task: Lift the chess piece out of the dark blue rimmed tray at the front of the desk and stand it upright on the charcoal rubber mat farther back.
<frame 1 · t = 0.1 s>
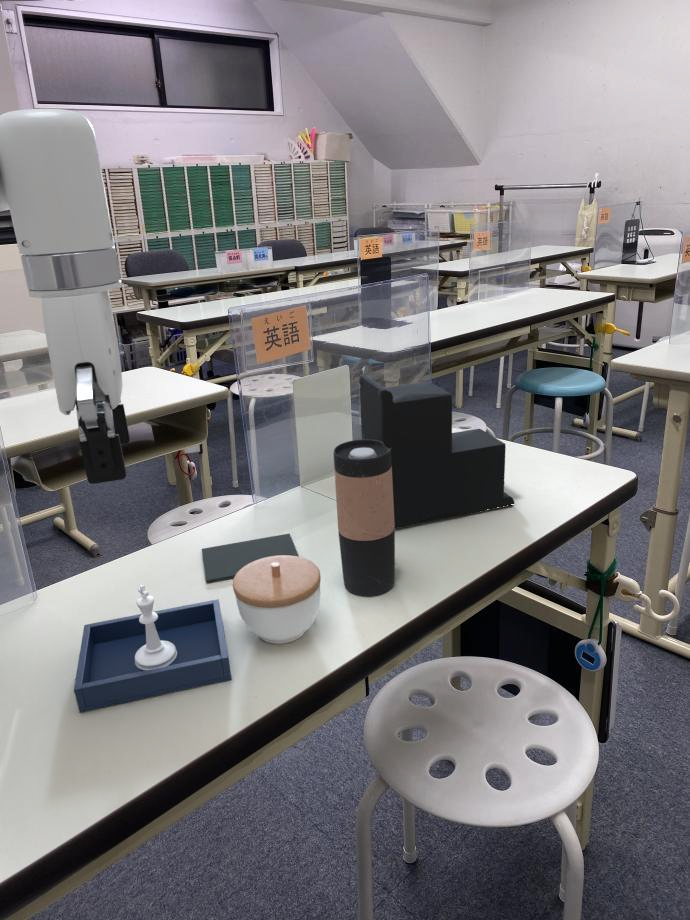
hand: (111, 461, 64), 29 cm above the table, tool pointing down, fingers open, 9 cm apart
mat: (250, 558, 104), on the table
travel mug: (369, 584, 96), on the table
chess piece: (156, 658, 82), resting on tray
trinket box: (282, 630, 87), on the table
tray: (157, 661, 82), on the table
bookend: (438, 508, 117), on the table
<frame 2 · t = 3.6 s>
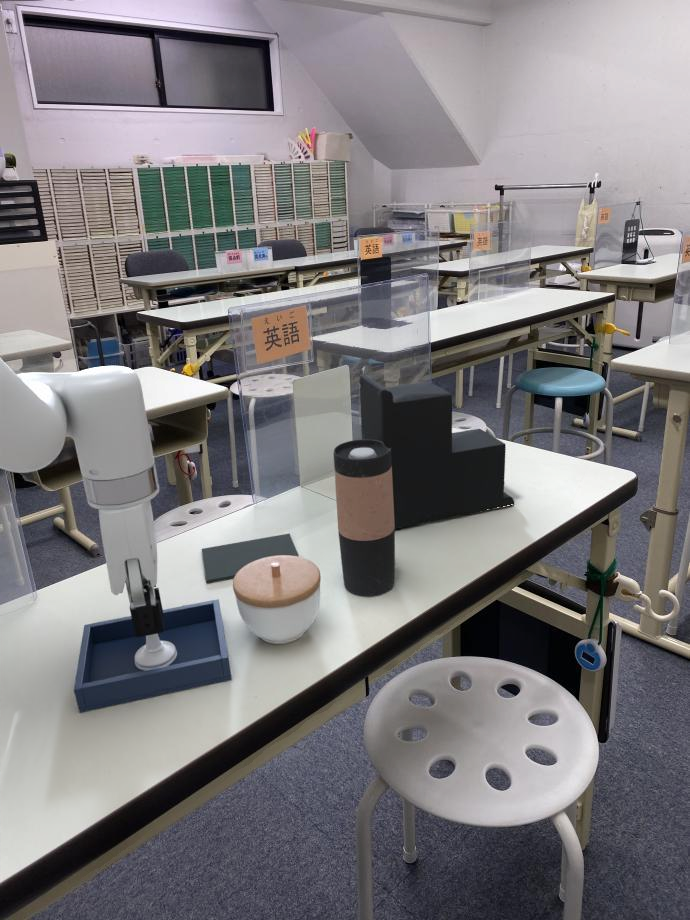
hand: (149, 625, 80), 5 cm above the table, tool pointing down, fingers closed on chess piece
chess piece: (156, 659, 82), resting on tray, touching gripper
everything else where it was.
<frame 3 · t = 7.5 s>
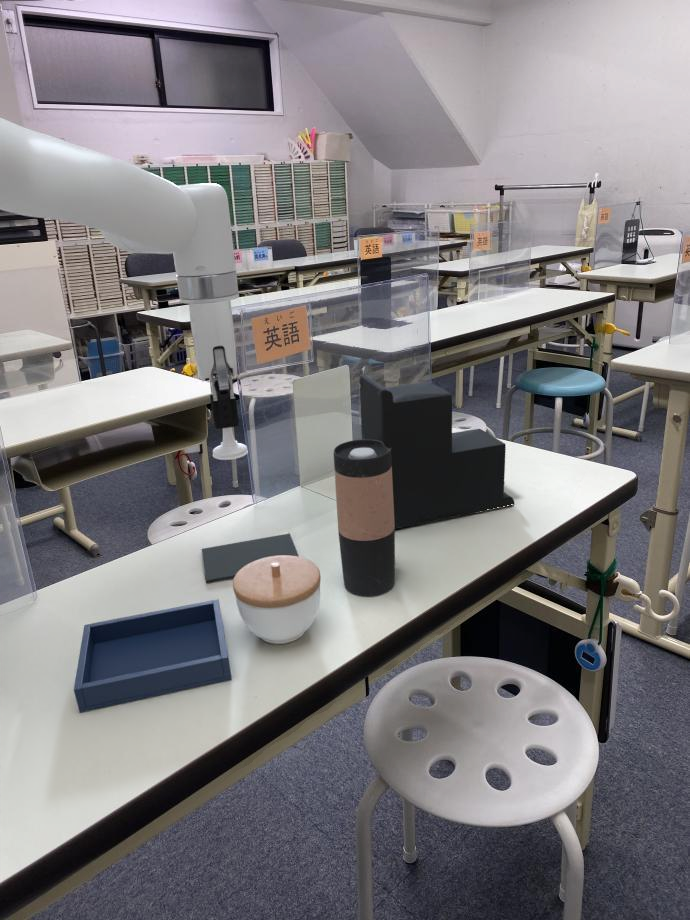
hand: (226, 423, 94), 22 cm above the table, tool pointing down, fingers closed on chess piece
chess piece: (230, 455, 96), point 18 cm above the table, touching gripper
everything else where it was.
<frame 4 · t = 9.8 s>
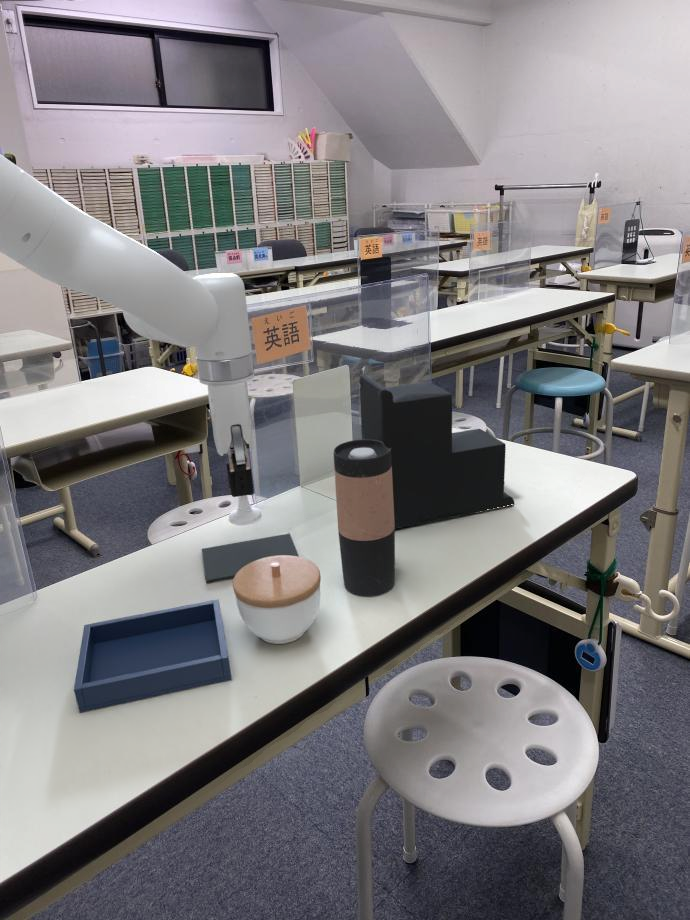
hand: (241, 490, 100), 11 cm above the table, tool pointing down, fingers closed on chess piece
chess piece: (245, 519, 101), point 7 cm above the table, touching gripper
everything else where it was.
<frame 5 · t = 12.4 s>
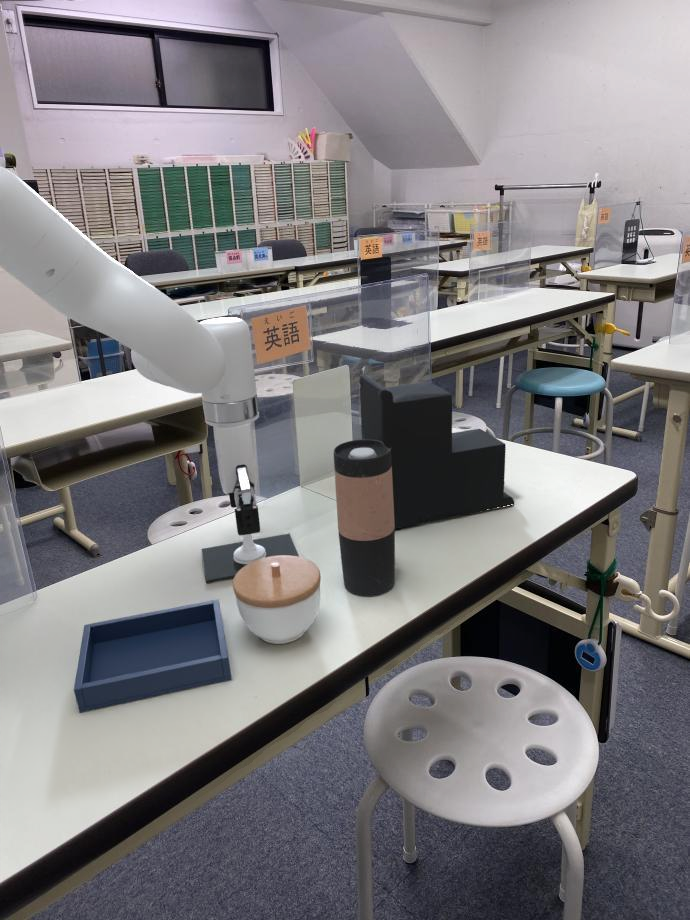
hand: (245, 518, 102), 7 cm above the table, tool pointing down, fingers open, 9 cm apart
chess piece: (250, 557, 104), resting on mat
everything else where it was.
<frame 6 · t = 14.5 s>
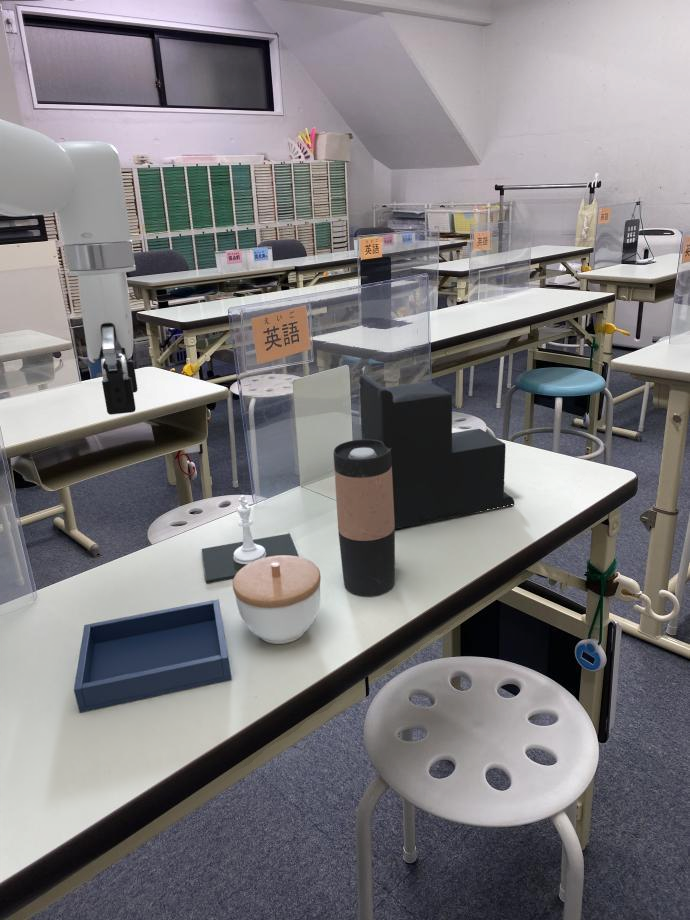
hand: (123, 402, 85), 28 cm above the table, tool pointing down, fingers open, 9 cm apart
nothing on the table moved.
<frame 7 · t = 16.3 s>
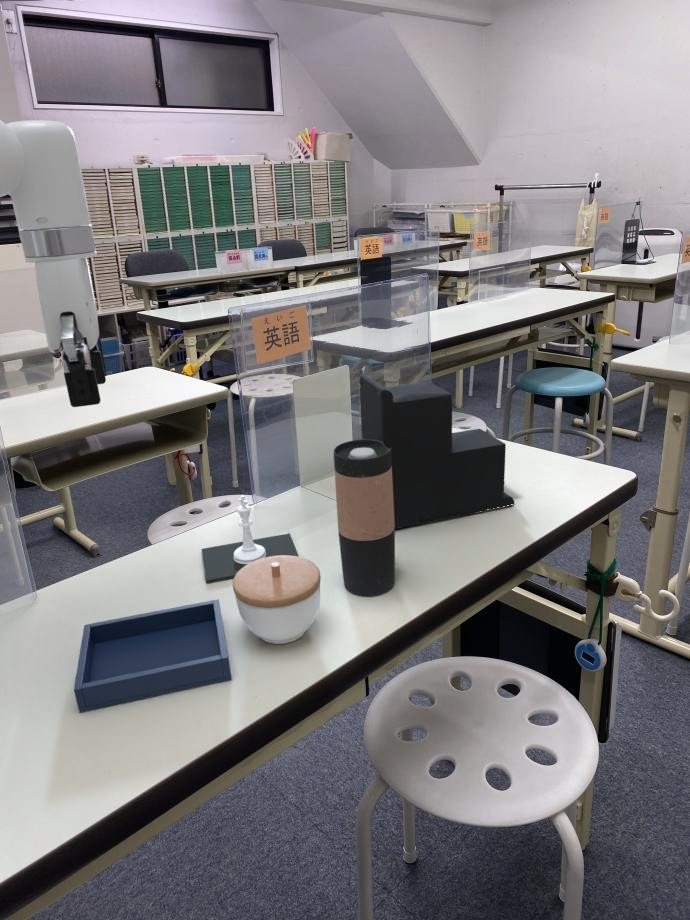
hand: (89, 394, 82), 30 cm above the table, tool pointing down, fingers open, 9 cm apart
nothing on the table moved.
at the end: chess piece inside the target area on the mat (0.2 cm from its centre), point 0.3 cm above the mat's base; chess piece tilted 0°; chess piece touching mat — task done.
